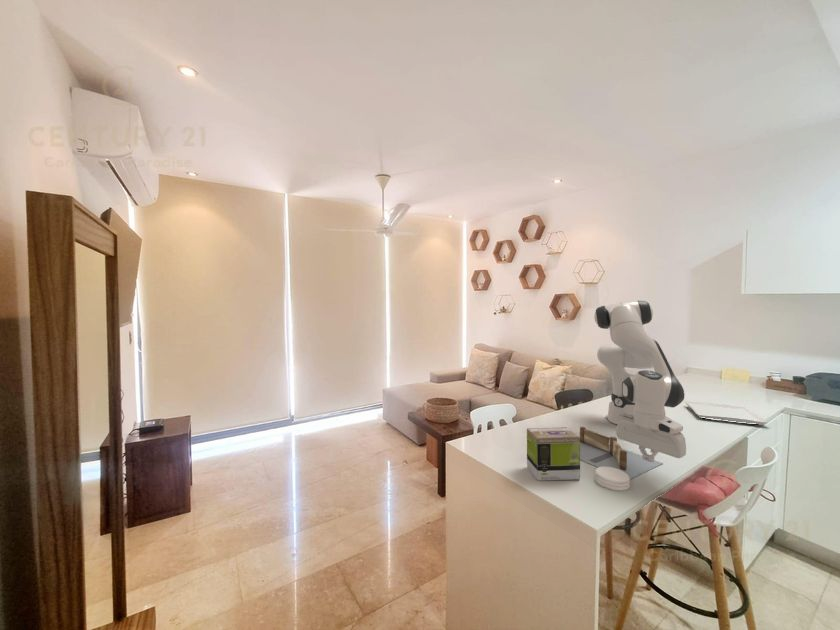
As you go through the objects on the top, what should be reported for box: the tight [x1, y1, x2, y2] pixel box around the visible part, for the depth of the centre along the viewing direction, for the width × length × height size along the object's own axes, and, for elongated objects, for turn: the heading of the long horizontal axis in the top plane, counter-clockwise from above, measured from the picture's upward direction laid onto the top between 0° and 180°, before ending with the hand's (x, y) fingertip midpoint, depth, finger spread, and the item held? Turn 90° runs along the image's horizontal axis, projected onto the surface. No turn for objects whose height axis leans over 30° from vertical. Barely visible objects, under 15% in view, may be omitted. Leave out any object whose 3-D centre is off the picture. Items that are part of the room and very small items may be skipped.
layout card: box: [580, 442, 664, 480], centre depth 131 cm, size 24×28×1 cm
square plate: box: [684, 401, 768, 426], centre depth 181 cm, size 27×27×4 cm
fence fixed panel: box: [579, 426, 618, 454], centre depth 139 cm, size 2×15×6 cm, turn 31°
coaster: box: [594, 467, 631, 492], centre depth 112 cm, size 10×10×4 cm
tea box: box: [526, 426, 581, 481], centre depth 117 cm, size 15×10×15 cm
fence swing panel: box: [613, 440, 627, 470], centre depth 126 cm, size 13×2×6 cm, turn 164°
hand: (648, 460), depth 114 cm, fingers closed
